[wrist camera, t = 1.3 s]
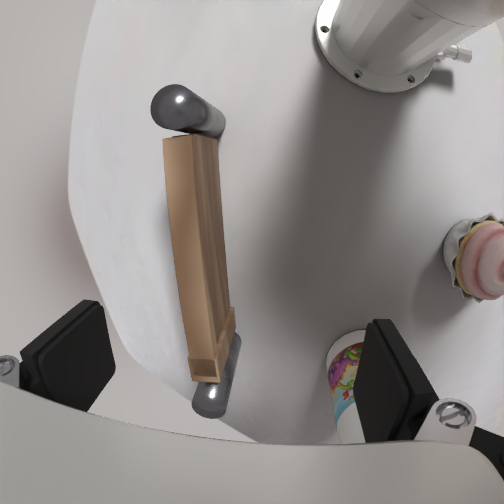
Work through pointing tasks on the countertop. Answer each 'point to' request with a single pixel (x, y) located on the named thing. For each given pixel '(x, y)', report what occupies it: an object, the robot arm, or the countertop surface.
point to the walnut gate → (199, 251)
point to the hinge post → (186, 112)
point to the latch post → (217, 387)
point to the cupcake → (476, 257)
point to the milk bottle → (345, 385)
